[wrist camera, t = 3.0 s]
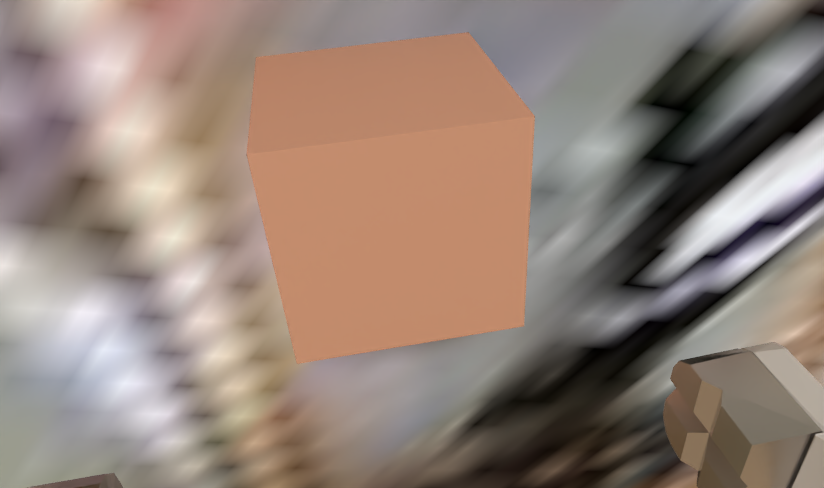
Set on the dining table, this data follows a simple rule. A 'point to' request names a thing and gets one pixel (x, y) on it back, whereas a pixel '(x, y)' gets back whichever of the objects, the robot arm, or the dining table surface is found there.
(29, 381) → the dining table surface
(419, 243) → the terracotta block
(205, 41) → the dining table surface
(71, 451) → the dining table surface
